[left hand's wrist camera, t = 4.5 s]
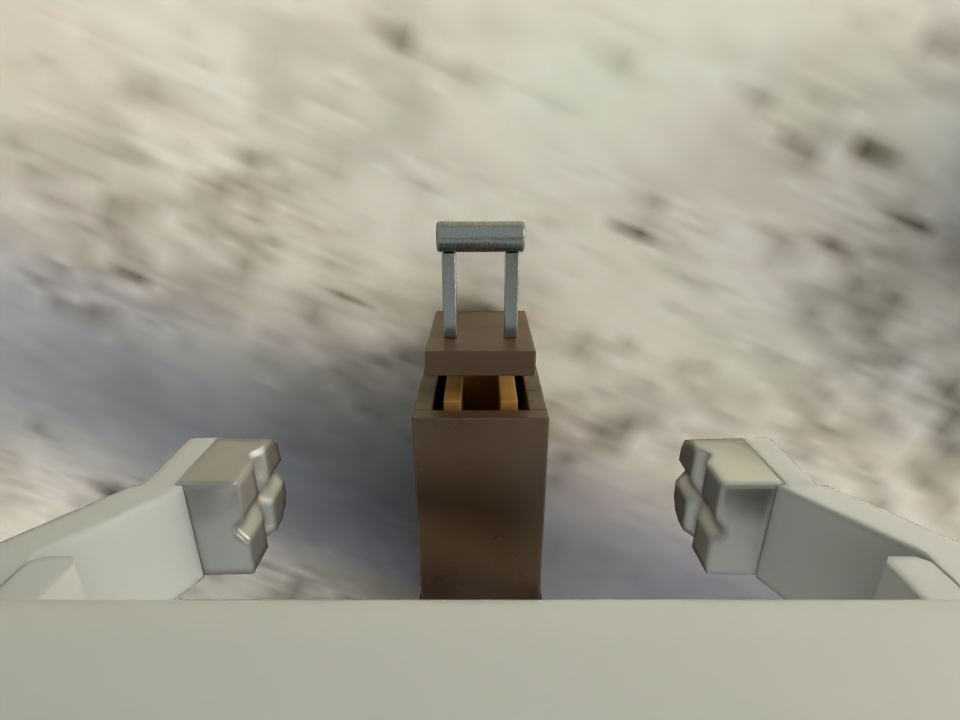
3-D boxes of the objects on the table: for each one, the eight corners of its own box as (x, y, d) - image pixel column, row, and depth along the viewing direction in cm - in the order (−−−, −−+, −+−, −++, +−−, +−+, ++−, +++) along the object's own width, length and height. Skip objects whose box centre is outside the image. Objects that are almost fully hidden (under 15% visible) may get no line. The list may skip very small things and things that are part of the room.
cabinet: (428, 353, 31) (411, 418, 24) (532, 353, 31) (549, 418, 24) (438, 608, 38) (427, 720, 31) (523, 608, 38) (533, 720, 31)
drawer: (432, 211, 27) (419, 228, 21) (528, 211, 27) (541, 227, 21) (444, 574, 36) (437, 656, 30) (516, 574, 36) (524, 657, 30)
